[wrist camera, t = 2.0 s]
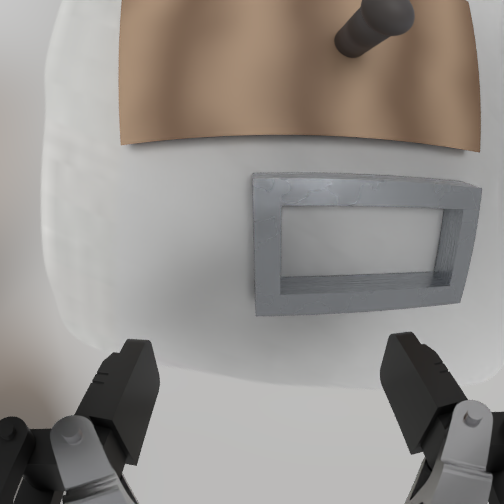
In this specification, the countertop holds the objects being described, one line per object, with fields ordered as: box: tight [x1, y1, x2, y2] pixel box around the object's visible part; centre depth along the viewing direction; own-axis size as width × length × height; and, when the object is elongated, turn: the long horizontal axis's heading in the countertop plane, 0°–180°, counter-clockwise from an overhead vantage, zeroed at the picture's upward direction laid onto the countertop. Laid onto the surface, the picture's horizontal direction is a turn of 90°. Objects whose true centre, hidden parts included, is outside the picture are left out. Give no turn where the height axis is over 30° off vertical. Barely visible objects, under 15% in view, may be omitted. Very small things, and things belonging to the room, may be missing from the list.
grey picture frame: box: [253, 173, 482, 316], centre depth 20 cm, size 16×9×3 cm, turn 91°
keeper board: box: [119, 0, 481, 152], centre depth 13 cm, size 24×12×9 cm, turn 91°
